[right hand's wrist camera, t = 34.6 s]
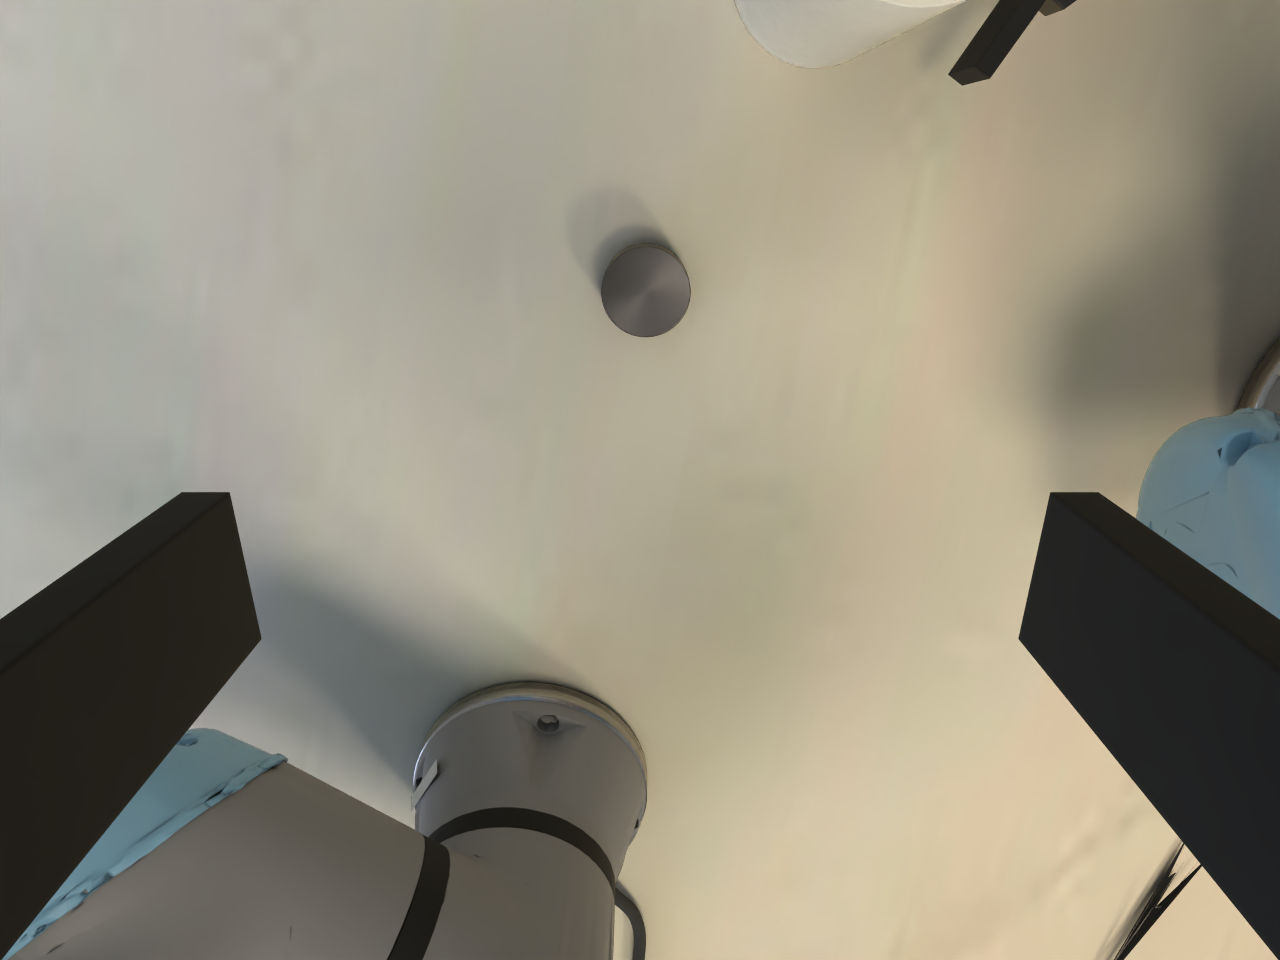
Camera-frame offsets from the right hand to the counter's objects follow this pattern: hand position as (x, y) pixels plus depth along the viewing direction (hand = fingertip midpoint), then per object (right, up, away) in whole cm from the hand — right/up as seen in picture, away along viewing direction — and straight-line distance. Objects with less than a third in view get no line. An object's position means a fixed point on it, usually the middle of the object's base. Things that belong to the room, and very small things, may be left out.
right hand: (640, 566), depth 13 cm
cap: (0, +11, +26) cm, 28 cm away
